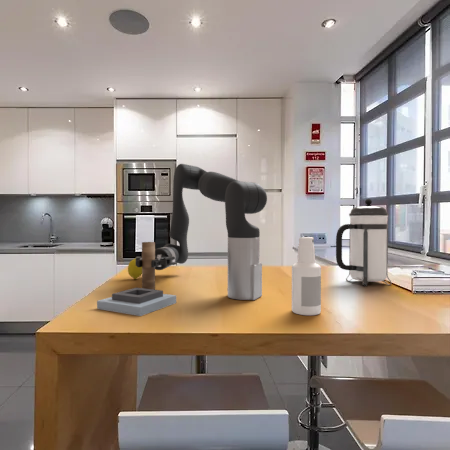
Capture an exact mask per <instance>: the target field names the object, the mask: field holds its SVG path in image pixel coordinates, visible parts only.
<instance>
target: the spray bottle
mask: <svg viewBox="0 0 450 450" xmlns="http://www.w3.org/2000/svg"><path fill="white" fill-rule="evenodd" d="M315 254H316V252H315V243H314V237H311V236H310V237H309V236H303V237H300V236H299V238H298V246H297V262H295V263H293V265H291V311H292V313H294V314H297V315H301V316H317V315H320V314H321V312H322V311H321V310H322V267H321V265H320V264H318V263H316V255H315Z"/></svg>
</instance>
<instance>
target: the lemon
mask: <svg viewBox="0 0 450 450" xmlns="http://www.w3.org/2000/svg"><path fill="white" fill-rule="evenodd" d="M127 272H128V275H129V276H130V277H131V278H133V279H134V280H137V279H138V278H140V277H142V267H137V266H136V257H135V258H133V259H132V260H130V261H129V263H128V265H127Z"/></svg>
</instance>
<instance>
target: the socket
mask: <svg viewBox="0 0 450 450" xmlns="http://www.w3.org/2000/svg"><path fill="white" fill-rule="evenodd" d="M176 303H177V295H175V294H170V293H169V294H168V293H164V291H163V290H160V289H159V290H158V289H155V290H153V289H144V288H142V287H133V288H130V289H125V290H122V291H119V292H115V293H111V296H110V297H106V298H104V299H99V300H97V301H96V309H97V310H102V311H108V312H113V313H120V314H127V315H132V316H138V317H142V316H145V315H148V314H150V313H153V312H156V311H158V310H161V309H163V308H166V307H169V306H171V305H172V306H173V305H174V304H176Z"/></svg>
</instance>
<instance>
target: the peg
mask: <svg viewBox="0 0 450 450" xmlns="http://www.w3.org/2000/svg"><path fill="white" fill-rule="evenodd" d="M155 249H156V242H155V241H144V242H143V241H141V258H142V274H141V288H144V289H153V290H156V269H155V267H154V268H152V267H151V261H152V260H155Z"/></svg>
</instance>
